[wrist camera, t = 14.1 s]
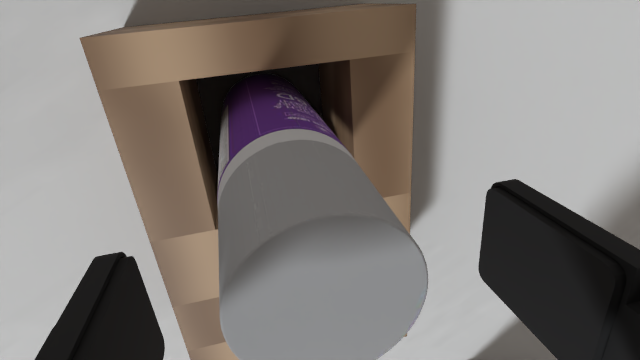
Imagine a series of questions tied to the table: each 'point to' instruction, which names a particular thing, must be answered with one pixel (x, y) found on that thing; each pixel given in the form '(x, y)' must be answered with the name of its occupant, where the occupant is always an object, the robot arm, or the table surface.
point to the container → (305, 237)
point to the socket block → (193, 139)
